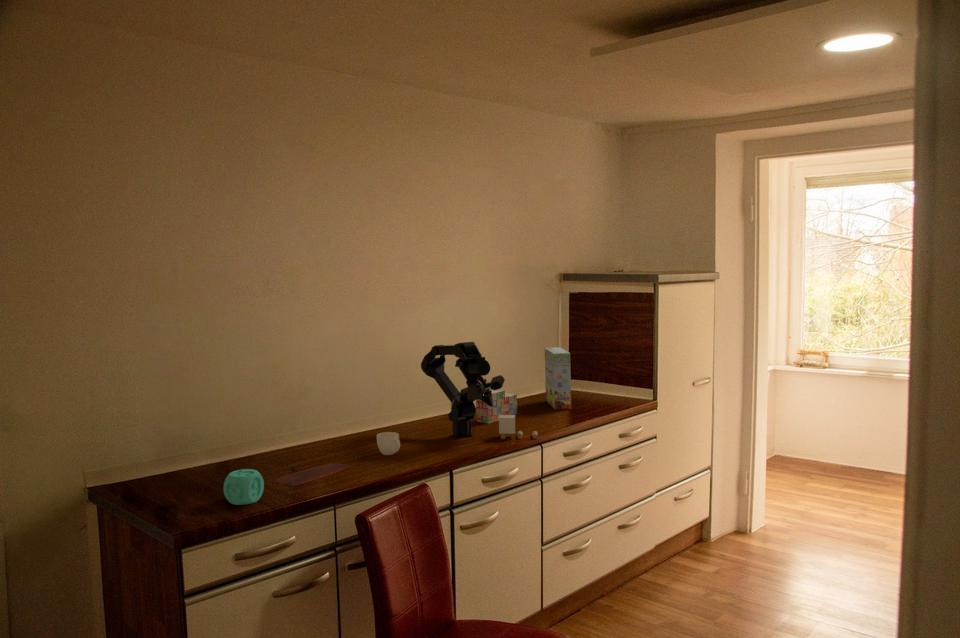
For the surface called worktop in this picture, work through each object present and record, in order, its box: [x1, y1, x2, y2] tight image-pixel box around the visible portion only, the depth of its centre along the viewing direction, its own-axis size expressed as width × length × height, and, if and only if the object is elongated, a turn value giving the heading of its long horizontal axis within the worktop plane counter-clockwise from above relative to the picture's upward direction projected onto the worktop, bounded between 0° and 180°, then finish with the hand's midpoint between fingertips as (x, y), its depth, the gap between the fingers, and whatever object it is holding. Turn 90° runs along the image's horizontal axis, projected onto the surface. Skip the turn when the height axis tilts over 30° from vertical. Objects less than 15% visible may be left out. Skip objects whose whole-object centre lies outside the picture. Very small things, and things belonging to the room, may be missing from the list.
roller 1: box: [500, 434, 507, 440], centre depth 282 cm, size 6×2×2 cm
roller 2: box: [532, 430, 539, 440], centre depth 282 cm, size 6×2×2 cm
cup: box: [376, 431, 401, 456], centre depth 259 cm, size 8×10×7 cm
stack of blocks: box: [475, 389, 518, 424], centre depth 316 cm, size 21×6×12 cm, turn 143°
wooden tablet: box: [273, 462, 352, 488], centre depth 236 cm, size 27×10×2 cm, turn 147°
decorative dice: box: [223, 468, 265, 506], centre depth 210 cm, size 8×8×8 cm
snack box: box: [543, 346, 572, 411], centre depth 343 cm, size 22×9×26 cm, turn 6°
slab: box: [498, 415, 516, 435], centre depth 282 cm, size 6×5×6 cm
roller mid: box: [516, 430, 524, 440], centre depth 282 cm, size 6×2×2 cm
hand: (492, 406), depth 285 cm, fingers closed
